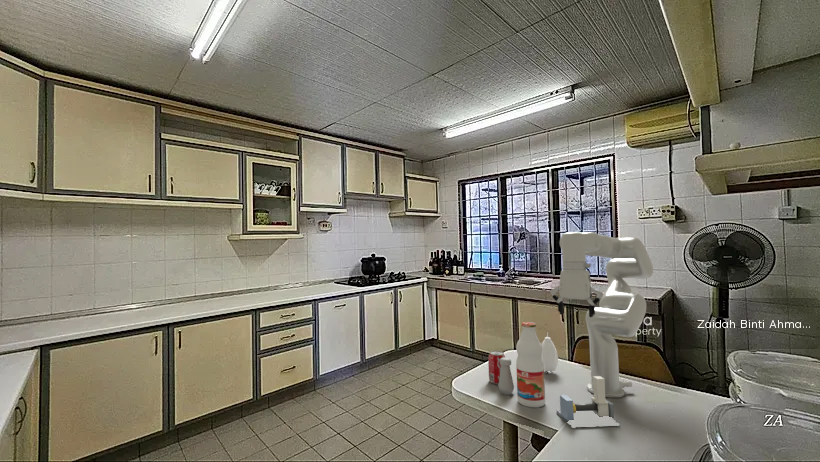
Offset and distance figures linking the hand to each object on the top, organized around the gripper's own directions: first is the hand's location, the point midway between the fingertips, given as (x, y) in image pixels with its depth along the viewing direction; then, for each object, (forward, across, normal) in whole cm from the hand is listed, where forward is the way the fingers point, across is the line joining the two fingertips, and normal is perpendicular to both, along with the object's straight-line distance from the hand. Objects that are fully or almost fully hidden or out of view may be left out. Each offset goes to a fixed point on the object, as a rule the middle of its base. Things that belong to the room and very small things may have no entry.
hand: (576, 315), depth 124 cm
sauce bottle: (+31, +18, -28) cm, 46 cm away
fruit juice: (+31, +14, +7) cm, 35 cm away
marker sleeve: (+29, -7, +7) cm, 31 cm away
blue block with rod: (+31, -4, +10) cm, 33 cm away
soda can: (+31, +32, -4) cm, 45 cm away
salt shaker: (+31, +25, +4) cm, 40 cm away
